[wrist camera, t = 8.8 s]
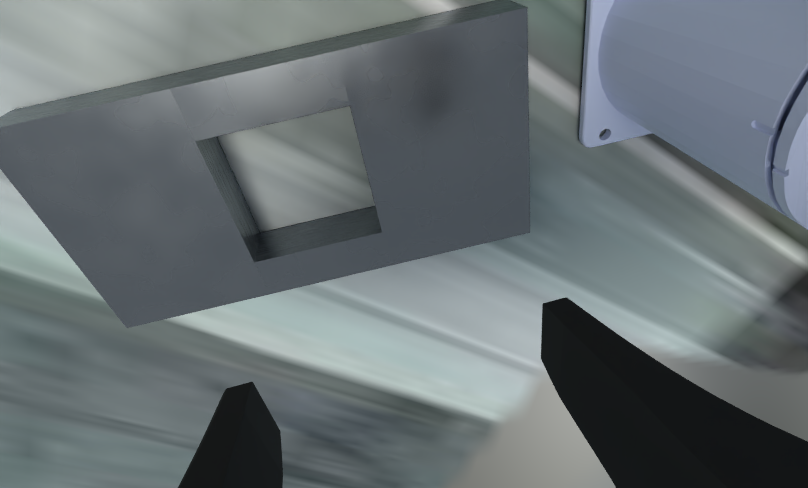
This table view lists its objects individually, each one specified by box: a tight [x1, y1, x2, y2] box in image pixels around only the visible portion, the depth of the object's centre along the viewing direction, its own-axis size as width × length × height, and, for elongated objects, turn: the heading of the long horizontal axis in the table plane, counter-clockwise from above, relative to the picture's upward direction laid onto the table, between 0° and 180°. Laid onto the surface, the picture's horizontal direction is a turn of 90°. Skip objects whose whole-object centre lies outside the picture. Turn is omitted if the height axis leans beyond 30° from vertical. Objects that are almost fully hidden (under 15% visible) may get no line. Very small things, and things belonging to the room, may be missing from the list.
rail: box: [0, 0, 530, 328], centre depth 18 cm, size 18×9×2 cm, turn 100°
